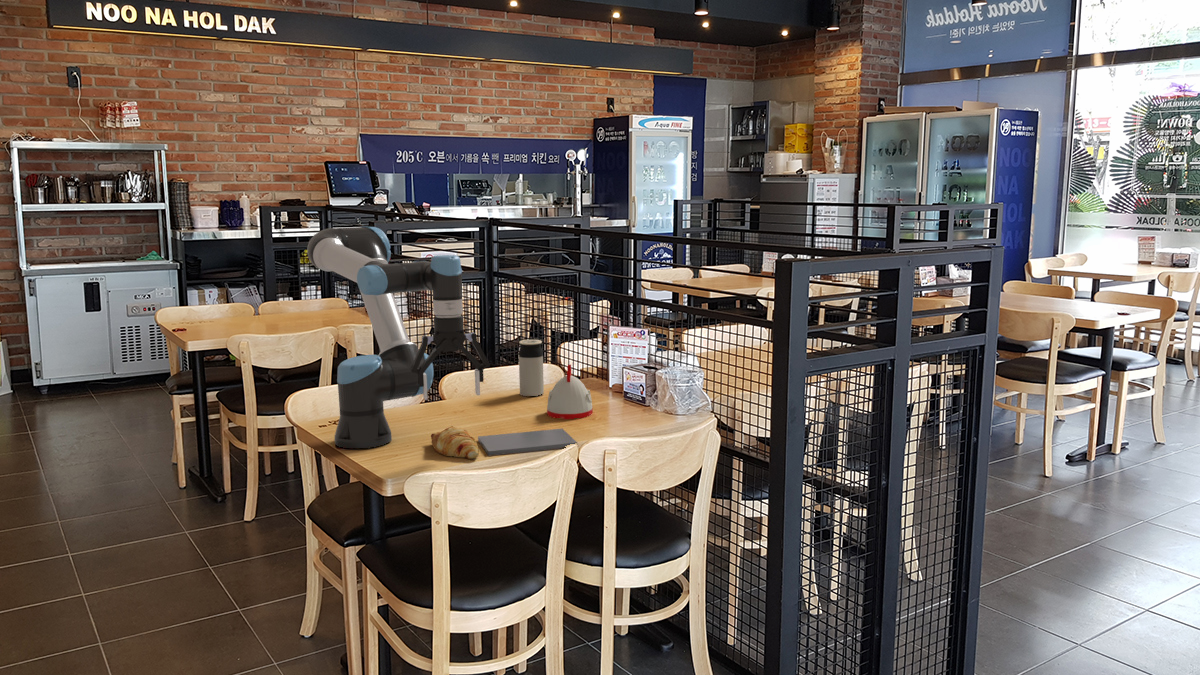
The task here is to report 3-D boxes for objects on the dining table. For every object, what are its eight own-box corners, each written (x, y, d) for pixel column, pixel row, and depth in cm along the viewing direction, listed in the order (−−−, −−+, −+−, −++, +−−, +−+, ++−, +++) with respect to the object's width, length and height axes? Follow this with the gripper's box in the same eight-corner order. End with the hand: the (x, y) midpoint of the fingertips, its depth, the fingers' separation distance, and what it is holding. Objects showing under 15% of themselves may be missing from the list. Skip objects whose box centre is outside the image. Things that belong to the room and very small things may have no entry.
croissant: (487, 471, 235) (498, 442, 236) (457, 461, 228) (469, 431, 230) (441, 452, 251) (452, 425, 252) (412, 442, 244) (423, 414, 245)
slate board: (488, 456, 237) (488, 451, 236) (478, 441, 251) (477, 436, 250) (577, 447, 244) (577, 442, 244) (562, 433, 258) (562, 428, 258)
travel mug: (534, 398, 300) (532, 344, 297) (515, 395, 304) (513, 342, 301) (548, 393, 306) (547, 340, 303) (529, 390, 311) (528, 338, 308)
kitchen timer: (593, 408, 286) (592, 361, 284) (591, 419, 272) (591, 370, 270) (549, 408, 287) (548, 361, 284) (545, 419, 273) (544, 370, 270)
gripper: (400, 320, 227) (404, 403, 230) (499, 314, 234) (502, 395, 238) (397, 316, 234) (401, 397, 237) (493, 311, 242) (496, 389, 245)
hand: (451, 396), depth 238 cm, fingers open, 13 cm apart
